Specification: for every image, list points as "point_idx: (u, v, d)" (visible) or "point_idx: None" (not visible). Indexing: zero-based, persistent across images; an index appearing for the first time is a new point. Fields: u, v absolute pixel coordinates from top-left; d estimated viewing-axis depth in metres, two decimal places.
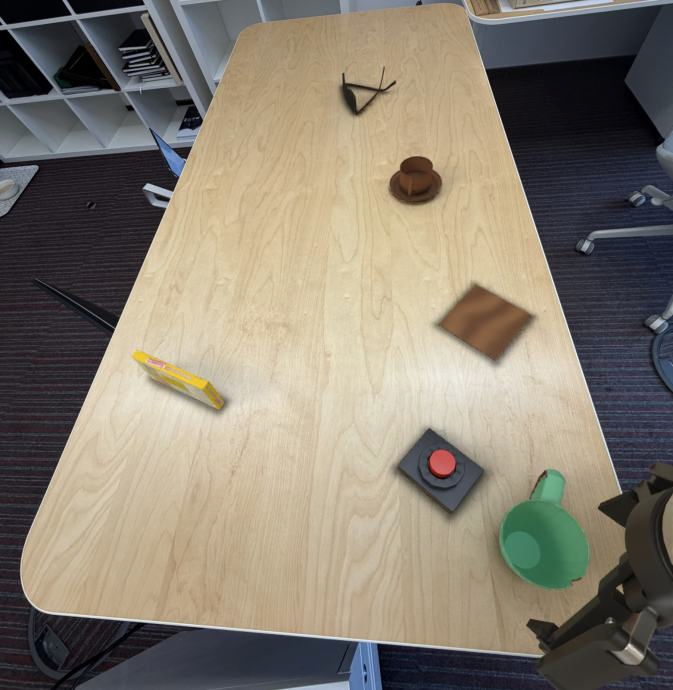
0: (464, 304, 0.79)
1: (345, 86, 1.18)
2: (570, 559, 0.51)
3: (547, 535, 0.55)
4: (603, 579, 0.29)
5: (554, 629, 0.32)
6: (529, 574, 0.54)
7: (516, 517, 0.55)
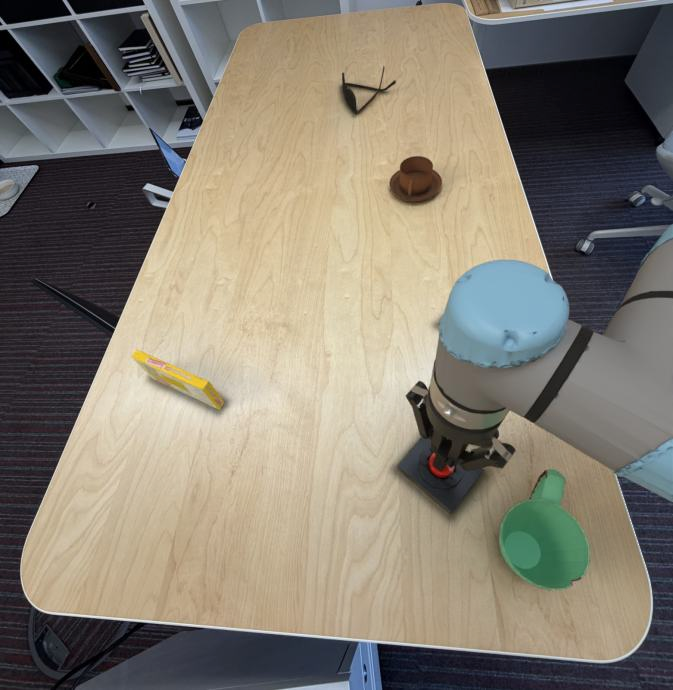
0: None
1: (345, 86, 1.18)
2: (570, 559, 0.51)
3: (547, 535, 0.55)
4: (454, 443, 0.46)
5: (444, 455, 0.53)
6: (529, 574, 0.54)
7: (516, 517, 0.55)
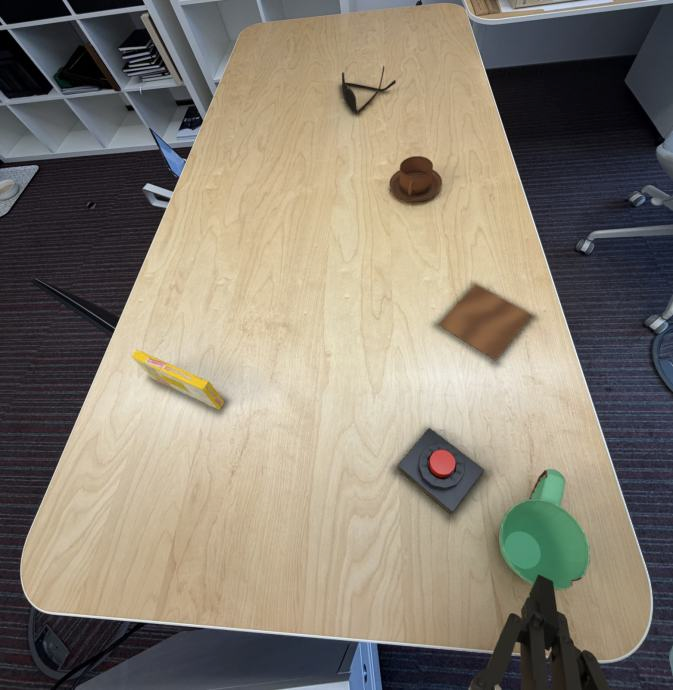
0: (464, 304, 0.79)
1: (345, 86, 1.19)
2: (570, 559, 0.51)
3: (547, 535, 0.55)
4: None
5: (545, 646, 0.38)
6: (529, 574, 0.54)
7: (516, 517, 0.55)
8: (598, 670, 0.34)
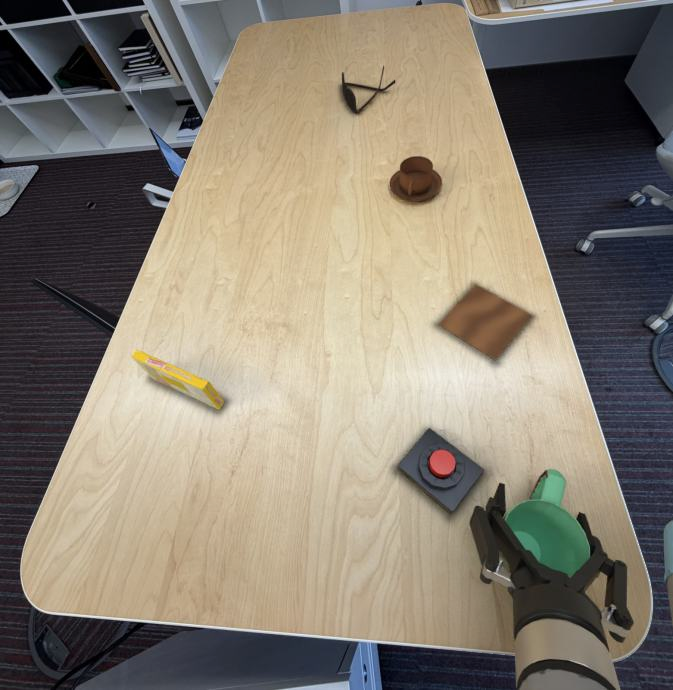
0: (464, 304, 0.79)
1: (345, 86, 1.19)
2: (570, 559, 0.51)
3: (547, 536, 0.55)
4: None
5: None
6: None
7: (516, 517, 0.55)
8: (623, 570, 0.45)
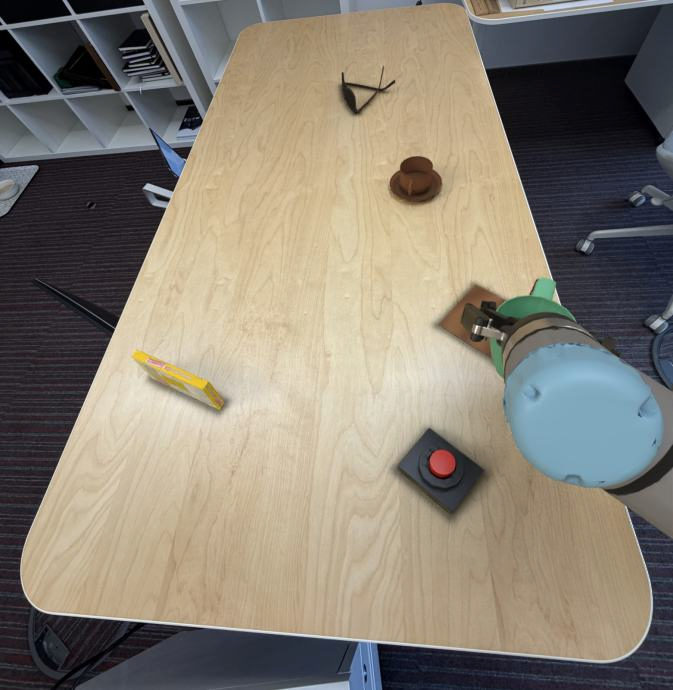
0: (464, 304, 0.79)
1: (344, 85, 1.19)
2: None
3: None
4: None
5: None
6: None
7: None
8: (612, 340, 0.45)
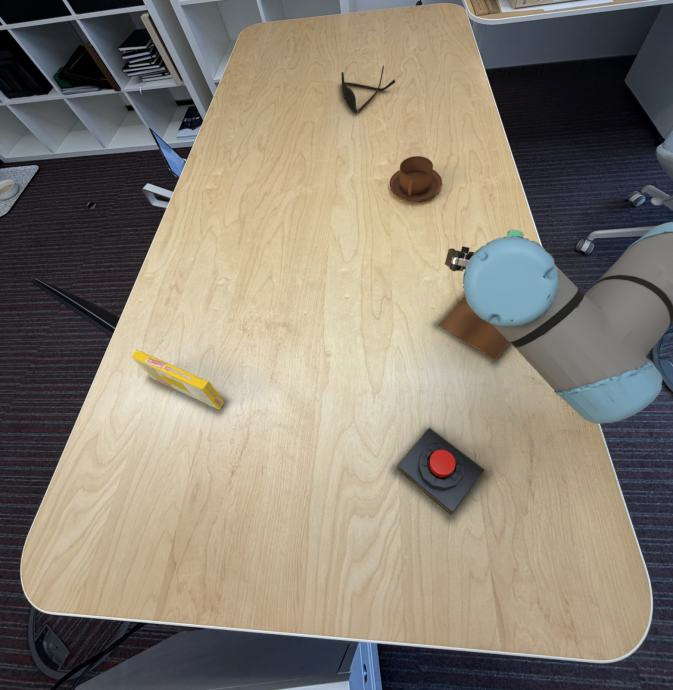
0: (464, 304, 0.79)
1: (344, 85, 1.19)
2: None
3: None
4: None
5: None
6: None
7: None
8: (563, 273, 0.57)
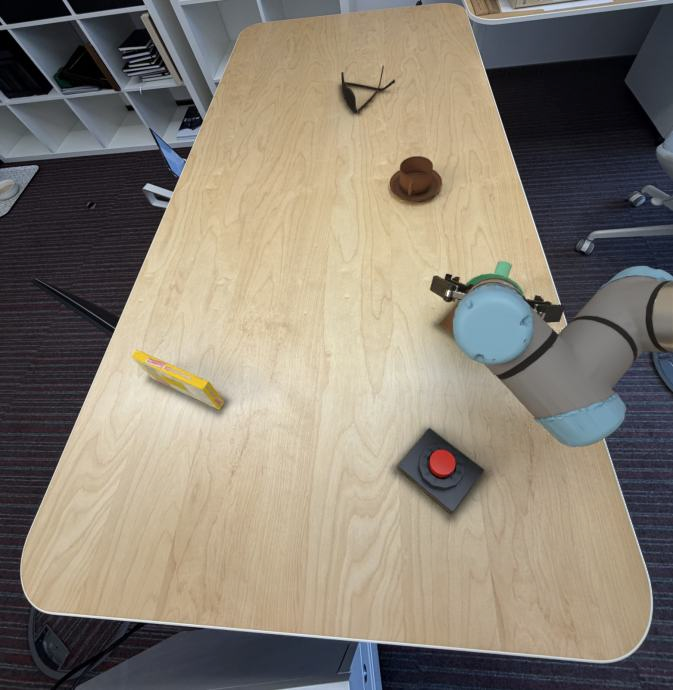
0: None
1: (344, 85, 1.19)
2: None
3: None
4: None
5: None
6: None
7: None
8: (560, 306, 0.61)
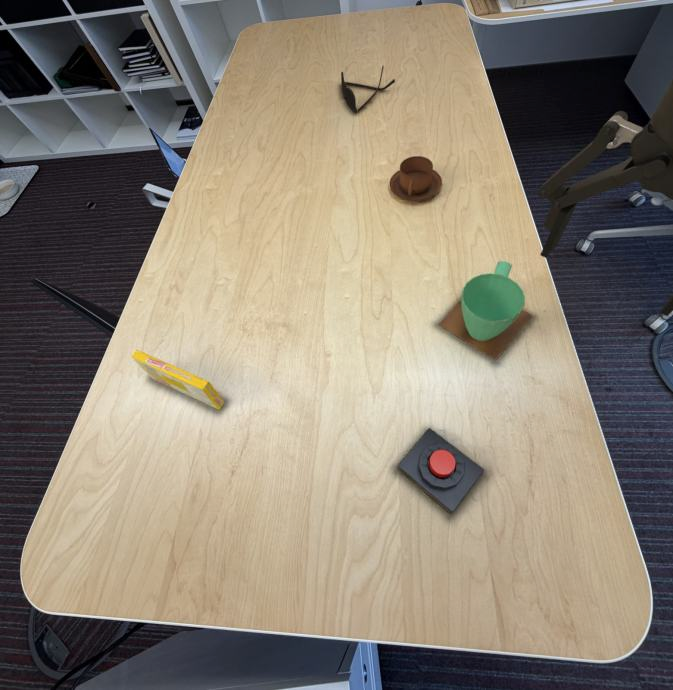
0: None
1: (344, 85, 1.19)
2: (513, 316, 0.69)
3: (499, 313, 0.73)
4: None
5: None
6: None
7: (476, 300, 0.73)
8: None
